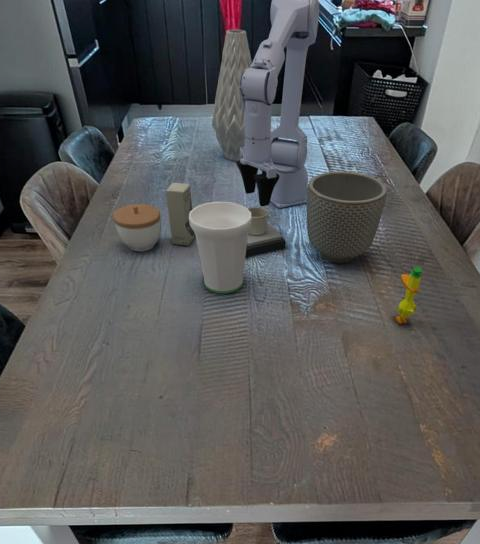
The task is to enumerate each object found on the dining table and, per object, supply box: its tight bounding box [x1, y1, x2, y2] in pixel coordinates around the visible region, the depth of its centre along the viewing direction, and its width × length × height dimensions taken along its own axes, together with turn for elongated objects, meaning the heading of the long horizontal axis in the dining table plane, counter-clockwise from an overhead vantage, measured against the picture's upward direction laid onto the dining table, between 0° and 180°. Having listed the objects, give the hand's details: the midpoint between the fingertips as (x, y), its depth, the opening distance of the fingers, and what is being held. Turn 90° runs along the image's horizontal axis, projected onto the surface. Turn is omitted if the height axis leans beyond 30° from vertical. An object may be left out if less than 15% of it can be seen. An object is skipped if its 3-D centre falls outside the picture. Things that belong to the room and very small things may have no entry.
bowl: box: [247, 206, 269, 236], centre depth 114 cm, size 6×6×5 cm
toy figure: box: [395, 266, 423, 325], centre depth 92 cm, size 7×4×12 cm, turn 13°
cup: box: [189, 201, 252, 294], centre depth 99 cm, size 12×12×15 cm
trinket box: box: [112, 203, 162, 252], centre depth 112 cm, size 11×11×9 cm
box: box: [165, 182, 196, 246], centre depth 112 cm, size 5×4×13 cm
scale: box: [245, 223, 287, 259], centre depth 116 cm, size 12×12×3 cm
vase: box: [211, 28, 253, 162], centre depth 146 cm, size 17×17×33 cm
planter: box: [306, 170, 388, 264], centre depth 108 cm, size 17×17×16 cm
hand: (257, 198), depth 113 cm, fingers open, 7 cm apart
